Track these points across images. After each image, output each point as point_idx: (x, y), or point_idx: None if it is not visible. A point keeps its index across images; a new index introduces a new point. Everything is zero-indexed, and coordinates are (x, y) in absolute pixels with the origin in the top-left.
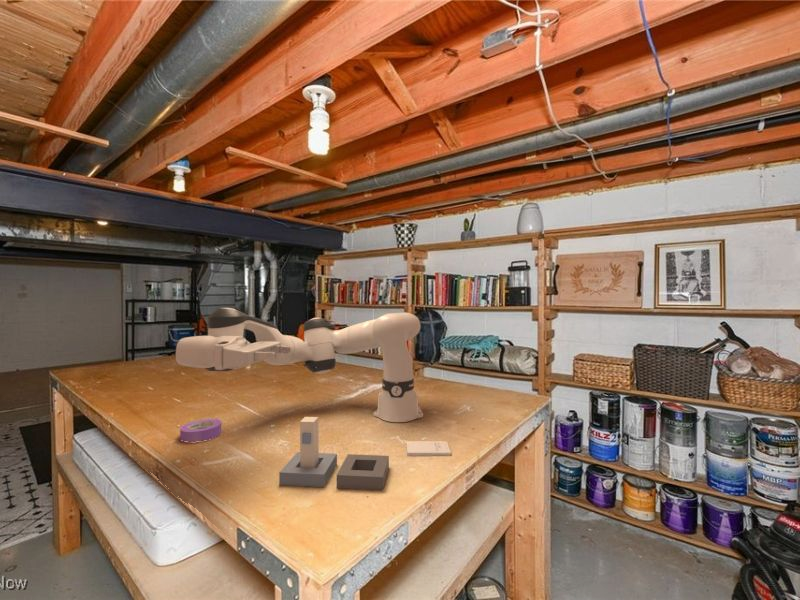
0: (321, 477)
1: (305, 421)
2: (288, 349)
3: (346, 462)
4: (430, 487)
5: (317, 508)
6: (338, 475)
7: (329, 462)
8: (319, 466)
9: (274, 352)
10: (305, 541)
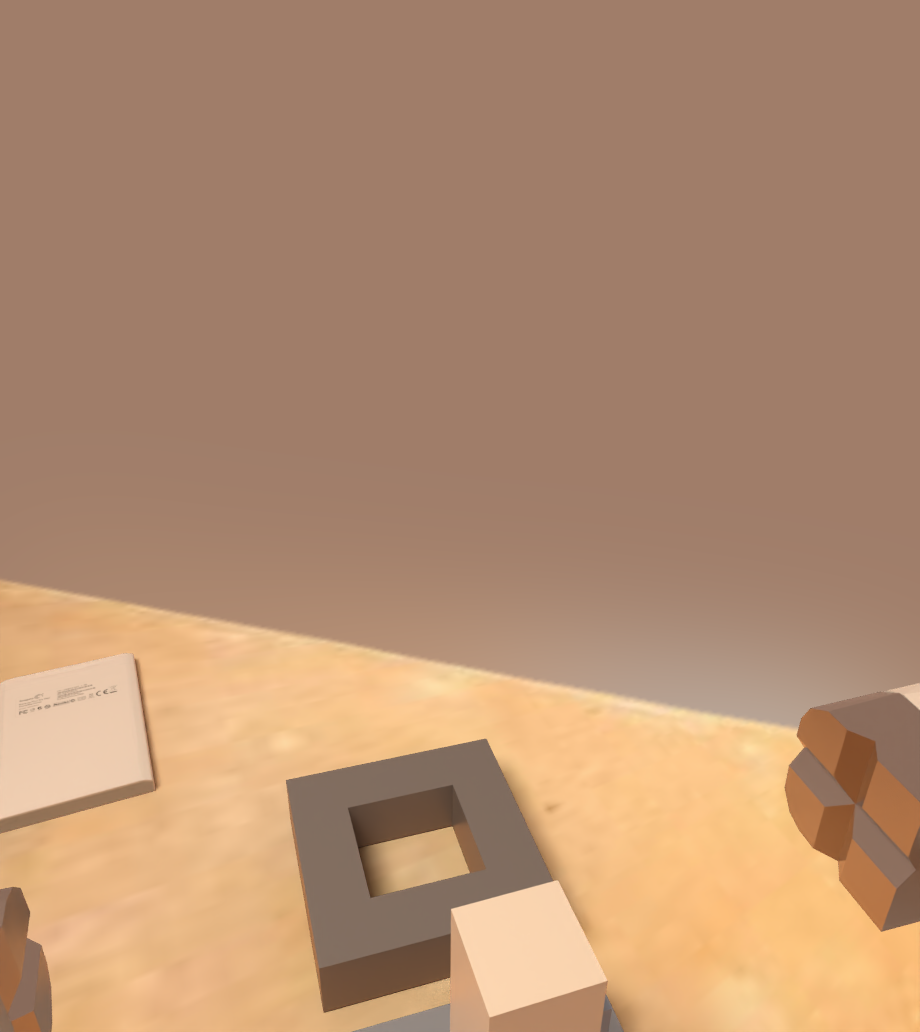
0: None
1: (581, 943)
2: (22, 925)
3: (421, 924)
4: (402, 668)
5: (735, 936)
6: None
7: None
8: None
9: (867, 697)
10: None
